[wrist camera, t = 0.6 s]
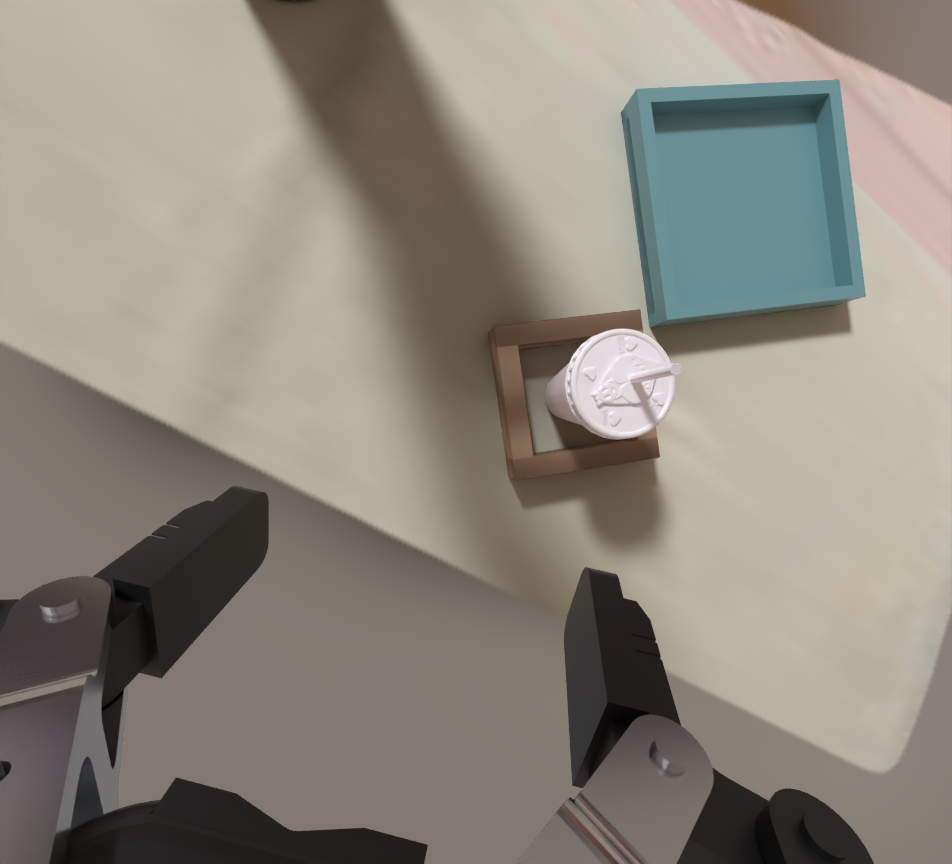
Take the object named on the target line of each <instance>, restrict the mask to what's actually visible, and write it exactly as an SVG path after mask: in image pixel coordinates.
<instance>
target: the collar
mask: <svg viewBox="0 0 952 864" xmlns="http://www.w3.org/2000/svg"><path fill="white" fill-rule="evenodd" d="M613 329H632V330H636V331H639V332H642V333H643V327H642V320H641V312H640V309H639V310H631V311H622V312H613V313H605V314H596V315H587V316H578V317H570V318H561V319H552V320H544V321H535V322H526V323H518V324H509V325H500V326H494V327H493V328H492V330H491V331H490V332H489V333H488V334H489V341H490V349H491V356H492V363H493V370H494V377H495V384H496V391H497V398H498V405H499V412H500V419H501V426H502V433H503V440H504V447H505V455H506V462H507V469H508V476H509V478H511V479H514V480H516V481H517V480H523V479H530V478H536V477H542V476H548V475H554V474H560V473H566V472H573V471H579V470H585V469H591V468H597V467H603V466H610V465H616V464H622V463H628V462H634V461H640V460H646V459H653V458H659V457H660V454H659V447H658V440H657V432H656V427H655V428H654V429H652V430H651V431H649V432H647V433H645V434H643V435H641V436H638V437H634V438H626V439H623V440H617V441H610V442H604V443H597V444H591V445H585V446H578V447H572V448H565V449H559V450H552V451H546V452H539V453H533V450H532V442H531V435H530V428H529V421H528V414H527V407H526V400H525V392H524V385H523V378H522V371H521V364H520V357H519V350H522V349H530V348H538V347H546V346H554V345H563V344H571V343H579V342H586V341H587V340H588V339H590V338H591V337H592V336H595V335H598V334H600V333H603V332H606V331H609V330H613Z"/></svg>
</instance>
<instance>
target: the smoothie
mask: <svg viewBox="0 0 952 864" xmlns="http://www.w3.org/2000/svg"><path fill="white" fill-rule="evenodd" d="M680 372H681V366H680V365H679V364H678V363H673V364H671V362H670V360H669V358H668V356H667V354H666V352H665V351H664V350H663V348H662V347H661V346H660V345H659V344H658V343H657V342H656V341H655V340H653V339H652V338H651V337H649V336H648V335H646V334H644V333H642V332H639V331H636V330H632V329H613V330H609V331H606V332H603V333H600V334H598V335H595V336H592V337H591V338H590V339H588V340H587V341H586V342H584V343H583V344H582V345H581V346H580V347H579V348H578V349H577V351H576V352H575V353H574V355H573V356H572V358H571V360H570V363H568V364H567V365H566V366H565V367H564V368H563V369H562V370H561V371H560V372H558V373H557V374H556V375H555V376H554V377H553V378H552V379H551V380H550V381H549V383H548V384H547V386H546V389H545V402H546V405H547V407H548V409H549V410H550V412H551V413H552V414H553V415H555V416H556V417H558V418H561V419H564V420H567V421H570V422H573V423H576V424H580V425H583V426H584V427H585V428H586V429H588V430H589V431H590V432H592V433H594V434H596V435H598V436H601V437H603V438H609V439H616V440H618V439H626V438H634V437H638V436H641V435H643V434H645V433H647V432H649V431H651V430H652V429H654V428H655V427H656V426H657V425H658V424H659V423H660V422H661V421H662V420H663V419H664V417H665V416H666V414H667V413H668V411H669V409H670V407H671V404H672V401H673V397H674V392H675V377H674V375H677V374H679V373H680Z"/></svg>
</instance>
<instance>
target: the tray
mask: <svg viewBox="0 0 952 864" xmlns="http://www.w3.org/2000/svg"><path fill="white" fill-rule="evenodd" d="M621 115H622V122H623V130H624V137H625V145H626V152H627V160H628V167H629V175H630V182H631V190H632V197H633V205H634V212H635V220H636V227H637V235H638V242H639V250H640V257H641V265H642V272H643V280H644V287H645V295H646V302H647V310H648V317H649V325H650V327H657V326H666V325H674V324H682V323H690V322H699V321H707V320H715V319H723V318H732V317H740V316H748V315H756V314H765V313H773V312H781V311H789V310H798V309H806V308H814V307H822V306H831V305H838V304H841V303H844V302H848V301H851V300H855V299H858V298H861V297H865V296H866V295H865V287H864V278H863V270H862V262H861V254H860V246H859V237H858V229H857V221H856V213H855V205H854V196H853V188H852V180H851V172H850V164H849V155H848V147H847V139H846V131H845V123H844V114H843V106H842V98H841V90H840V82H839V80H823V81H801V82H779V83H757V84H736V85H714V86H692V87H670V88H648V89H636V91H635V92H634V94H633V95H632V97H631V98H630V100H629V101H628V103H627V104H626V106H625V107H624V109H623V110H622V112H621Z"/></svg>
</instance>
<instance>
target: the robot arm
mask: <svg viewBox="0 0 952 864" xmlns="http://www.w3.org/2000/svg"><path fill="white" fill-rule="evenodd" d="M294 1H295V0H294ZM268 504H269V502H268V496H267V494H266V493H265V492H260V491H256V490H251V489H247V488H242V487H238V486H233V487H231V488H229V489H228V490H227V491H226V492H224V493H223V494H222V495H220V496H219V497H218V498H216V499H215V500H214V501H213V502H212V501H205V502H202V503H200V504H197V505H195V506H192V507H190V508H187V509H185V510H183V511H182V512H180V513H179V514H178V515H176V516H175V517H174V518H172V519H171V520H169V521H168V522H167V524H166V525H163V526H161V527H160V528H159V529H157V530H156V531H154V532H153V533H152V536H151V537H150V536H148V537H146V538H145V539H144V540H142V541H141V542H140V543H138V544H137V545H135V546H134V547H133V548H131V549H130V550H129V551H127V552H126V553H125V554H123V555H122V556H120V557H119V558H118V559H116V560H115V561H114V562H112V563H111V564H109V565H108V566H107V567H105V568H104V569H103V570H101V571H100V572H99V573H97V574H96V575H94V576H93V577H91V576H76V577H68V578H64V579H59V580H56V581H52V582H50V583H47V584H44V585H42V586H40V587H38V588H36V589H34V590H32V591H31V592H29V593H28V594H26V595H24V596H23V597H22V598H21V599H17V600H0V864H424V861H425V856H426V851H427V845H426V844H422V843H418V842H415V841H411V840H408V839H404V838H400V837H396V836H393V835H389V834H385V833H381V832H378V831H374V830H370V829H366V828H353V829H335V830H315V831H292V830H289V829H287V828H285V827H284V826H282V825H281V824H279V823H278V822H276V821H275V820H274V819H272V818H271V817H269V816H268V815H266V814H265V813H263V812H262V811H261V810H259V809H258V808H256V807H255V806H253V805H252V804H251V803H249V802H247V801H246V800H245V799H243V798H242V797H241V796H239V795H238V794H236V793H232V792H228V791H225V790H221V789H217V788H213V787H209V786H205V785H202V784H198V783H195V782H191V781H187V780H183V779H180V778H175V780H174V781H173V783H172V784H171V786H170V787H169V789H168V790H167V792H166V793H165V794H164V796H163V798H162V799H161V800H155V801H150V802H144V803H139V804H134V805H130V806H127V807H123V808H120V805H119V778H120V768H121V759H122V750H123V740H124V731H125V721H126V711H127V702H128V686H127V685H128V684H129V683H130V682H131V681H132V680H133V678H134V677H135V676H136V675H137V674H138V673H143V674H147V675H151V676H155V677H159V678H162V677H163V676H164V675H165V674H166V672H167V671H168V670H169V669H170V668H171V667H172V665H174V663H175V662H176V661H177V660H178V659H179V658H180V657H181V655H182V654H183V653H184V652H185V651H186V650H187V649H188V648H189V646H190V645H191V644H192V643H193V642H194V641H195V640H196V638H197V637H198V636H199V635H200V634H201V633H202V632H203V631H204V629H205V628H206V627H207V626H208V625H209V624H210V623H211V621H212V620H213V619H214V618H215V617H216V616H217V615H218V614H219V612H220V611H221V610H222V609H223V608H224V607H225V606H226V604H227V603H228V602H229V601H230V600H231V599H232V598H233V597H234V595H235V594H236V593H237V592H238V591H239V590H240V588H241V587H242V586H243V585H244V584H245V583H246V582H247V581H248V580H249V578H250V577H251V576H252V575H253V574H254V573H255V572H256V570H257V569H258V568H259V567H260V565H261V564H262V562H263V560H264V558H265V555H266V553H267V549H268V525H269V524H268V523H269V522H268V521H269V520H268V519H269V518H268V511H269V510H268V506H269V505H268ZM655 641H656V638H655V635H654V632H653V628H652V625H651V621H650V619H649V618H648V616H647V615H646V614H645V612H644V611H643V610H642V608H641V607H640V606H639V604H638V603H637V601H633V600H628V599H624V598H623V595H622V591H621V586H620V582H619V578H618V576H617V575H616V574H613V573H608V572H604V571H600V570H595V569H591V568H587V567H586V568H584V570H583V572H582V574H581V577H580V580H579V583H578V586H577V589H576V592H575V595H574V598H573V601H572V604H571V607H570V610H569V613H568V616H567V620H566V625H565V633H564V648H565V663H566V682H567V698H568V715H569V734H570V751H571V768H572V785H573V786H576V787H580V788H583V789H582V790H581V791H580V793H579V794H578V795H577V796H576V797H575V798H574V799H572V798H569V799H568V800H566V801H565V802H564V804H563V805H562V806H561V807H560V808H559V810H558V811H557V812H556V814H555V815H554V816H553V817H552V818H551V820H550V821H549V822H548V824H547V825H546V826H545V828H544V829H543V830H542V831H541V833H540V834H539V836H538V837H537V838H536V839H535V841H534V842H533V843H532V844H531V846H530V847H529V848H528V850H527V851H526V852H525V854H524V855H523V856H522V858H521V859H520V860H519V861H518V863H517V864H874V863H873V861H872V859H871V857H870V855H869V853H868V851H867V849H866V848H865V846H864V844H863V843H862V842H861V840H860V839H859V837H858V836H857V834H856V833H855V832H854V831H853V829H852V828H851V827H850V826H849V825H848V824H847V823H846V822H845V821H844V820H843V819H842V818H841V817H840V816H839V815H838V814H837V813H836V812H835V811H834V810H832V809H831V808H830V807H829V806H827V805H826V804H825V803H823V802H822V801H820V800H818V799H817V798H815V797H813V796H811V795H809V794H808V793H805V792H802V791H800V790H795V789H782V790H779V791H777V792H775V794H774V795H773V796H772V797H771V799H770V800H769V801H768V800H766V799H764V798H762V797H761V796H759V795H757V794H755V793H753V792H751V791H750V790H748V789H746V788H744V787H743V786H741V785H739V784H737V783H736V782H734V781H732V780H730V779H728V778H727V777H725V776H724V775H722V774H720V773H719V772H718V771H716V770H715V769H714V768H712V766H711V763H710V760H709V758H708V756H707V754H706V752H705V751H704V749H703V748H702V746H701V745H700V744H699V742H698V741H697V740H696V739H695V738H694V737H693V735H692V734H690V733H689V732H688V731H687V730H686V729H685V728H683V727H682V726H681V724H680V720H679V717H678V714H677V711H676V707H675V704H674V700H673V697H672V694H671V690H670V686H669V683H668V680H667V676H666V673H665V669H664V666H663V662H662V660H660V656H661V655H660V652H659V649H658V645H657V643H655Z"/></svg>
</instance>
